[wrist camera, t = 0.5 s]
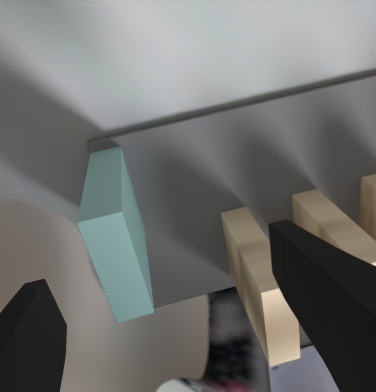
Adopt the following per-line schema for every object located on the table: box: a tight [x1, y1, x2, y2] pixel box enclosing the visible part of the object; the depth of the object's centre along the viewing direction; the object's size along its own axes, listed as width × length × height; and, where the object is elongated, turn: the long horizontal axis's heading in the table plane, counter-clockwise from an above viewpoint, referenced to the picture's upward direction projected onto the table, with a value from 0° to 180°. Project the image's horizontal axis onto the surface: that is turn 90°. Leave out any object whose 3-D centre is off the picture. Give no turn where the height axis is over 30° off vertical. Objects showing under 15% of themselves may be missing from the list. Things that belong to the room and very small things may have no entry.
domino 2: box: [221, 207, 300, 367], centre depth 20 cm, size 5×2×7 cm, turn 11°
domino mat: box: [87, 74, 376, 308], centre depth 22 cm, size 12×22×1 cm, turn 101°
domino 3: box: [292, 189, 376, 266], centre depth 20 cm, size 5×2×7 cm, turn 11°
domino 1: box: [77, 146, 154, 323], centre depth 17 cm, size 5×2×7 cm, turn 11°
